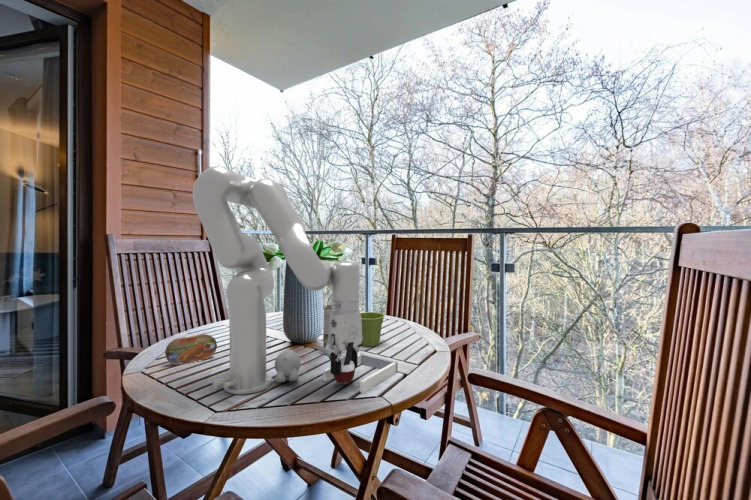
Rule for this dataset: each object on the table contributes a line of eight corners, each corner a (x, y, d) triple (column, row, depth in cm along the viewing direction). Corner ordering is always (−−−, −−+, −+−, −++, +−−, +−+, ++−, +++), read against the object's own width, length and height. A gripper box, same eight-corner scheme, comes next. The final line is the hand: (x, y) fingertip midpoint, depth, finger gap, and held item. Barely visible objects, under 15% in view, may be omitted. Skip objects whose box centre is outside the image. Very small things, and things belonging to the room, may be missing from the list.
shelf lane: (363, 393, 93) (363, 381, 92) (323, 380, 100) (323, 370, 100) (397, 371, 107) (397, 362, 107) (360, 362, 115) (360, 353, 115)
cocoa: (333, 376, 102) (332, 334, 102) (355, 375, 102) (354, 334, 102) (331, 389, 92) (331, 343, 92) (355, 387, 93) (355, 342, 93)
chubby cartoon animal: (301, 381, 106) (302, 352, 109) (299, 381, 95) (300, 349, 98) (276, 382, 105) (278, 352, 108) (272, 382, 94) (274, 349, 97)
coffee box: (341, 355, 122) (341, 309, 122) (322, 354, 122) (322, 309, 122) (343, 347, 131) (344, 304, 131) (326, 346, 132) (326, 304, 131)
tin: (166, 368, 109) (165, 341, 109) (164, 365, 112) (164, 339, 111) (217, 357, 119) (217, 333, 118) (214, 355, 121) (214, 331, 121)
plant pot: (360, 338, 143) (360, 311, 142) (388, 341, 139) (388, 313, 138) (349, 346, 132) (349, 317, 131) (379, 350, 128) (379, 319, 127)
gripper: (335, 313, 87) (334, 384, 88) (373, 303, 102) (372, 364, 103) (313, 309, 92) (312, 377, 92) (353, 300, 106) (352, 358, 107)
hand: (344, 369), depth 97 cm, fingers closed on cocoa, 6 cm apart
